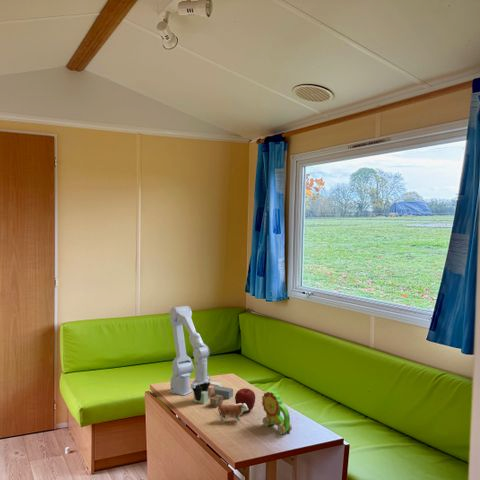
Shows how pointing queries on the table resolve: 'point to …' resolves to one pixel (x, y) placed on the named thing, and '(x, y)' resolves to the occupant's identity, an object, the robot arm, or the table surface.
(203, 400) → the sage brick
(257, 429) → the table surface
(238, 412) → the bull figurine
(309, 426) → the table surface
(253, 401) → the apple
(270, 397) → the toy lion
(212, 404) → the walnut brick
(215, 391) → the charcoal brick
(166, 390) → the table surface
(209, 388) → the terracotta brick
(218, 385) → the pale grey brick
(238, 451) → the table surface
